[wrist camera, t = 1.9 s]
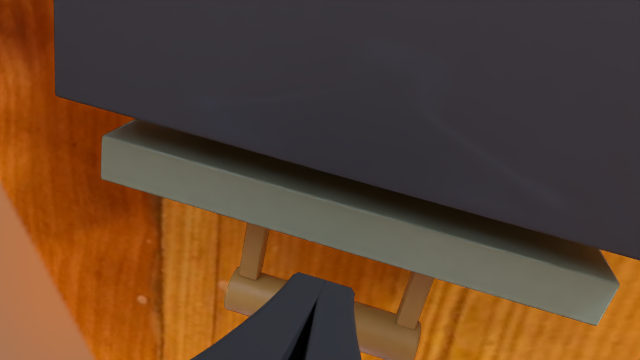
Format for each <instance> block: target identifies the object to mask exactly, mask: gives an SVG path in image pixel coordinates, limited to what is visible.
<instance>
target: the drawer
mask: <svg viewBox="0 0 640 360" xmlns="http://www.w3.org/2000/svg"><path fill="white" fill-rule="evenodd" d="M101 179H103V180H106V181H110V182H113V183H117V184H120V185H123V186H127V187H130V188H133V189H137V190H140V191H143V192H147V193H150V194H154V195H157V196H160V197H164V198H167V199H170V200H174V201H177V202H180V203H184V204H187V205H191V206H194V207H197V208H201V209H204V210H207V211H211V212H214V213H217V214H221V215H224V216H228V217H231V218H234V219H238V220H241V221H244V222H247V228H246V234H245V240H244V246H243V252H242V257H241V263H240V266H239V267H237V269H236V270H235V271H234V273H233V275H232V277H231V279H230V282H229V284H228V287H227V291H226V294H225V300H224V307H225V308H226V309H228V310H231V311H234V312H238V313H241V314H244V315H247V316H251V315H252V314H254V313H255V312H256V311H257V310H258V309H259V308H261V307H262V306H263V305H264V304H265V303H266V302H267V301H268V300H269V299H270V298H272V297H273V296H274V295H275V294H276V293H277V292H278V291H279V290H280V289H281V288H282V287H283V286H284V285H285V284H286V282H287V281H288V280H284V279H281V278H278V277H274V276H271V275H268V274H265V273H261V271H262V267H263V261H264V256H265V251H266V246H267V241H268V236H269V230H270V229H271V230H275V231H278V232H281V233H285V234H288V235H291V236H295V237H298V238H302V239H305V240H308V241H312V242H315V243H318V244H322V245H325V246H328V247H332V248H335V249H339V250H342V251H345V252H349V253H352V254H355V255H359V256H362V257H365V258H369V259H372V260H376V261H379V262H382V263H386V264H389V265H392V266H396V267H399V268H402V269H406V270H409V271H411V273H410V276H409V279H408V282H407V285H406V288H405V291H404V294H403V297H402V299H401V302H400V305H399V308H398V311H397V314H395V313H392V312H388V311H385V310H382V309H379V308H375V307H372V306H369V305H366V304H362V303H359V302H356V301H354V314H355V324H356V333H357V339H358V345H359V350H360V352H364V353H367V354H370V355H373V356H376V357H379V358H382V359H386V360H414V358H415V355H416V352H417V348H418V344H419V340H420V334H421V323H420V322H419V321H418V320H419V317H420V315H421V312H422V309H423V307H424V304H425V301H426V299H427V296H428V293H429V291H430V288H431V285H432V283H433V280H434V278H436V279H439V280H443V281H446V282H450V283H453V284H456V285H460V286H463V287H466V288H470V289H473V290H476V291H480V292H483V293H487V294H490V295H493V296H497V297H500V298H503V299H507V300H510V301H513V302H517V303H520V304H524V305H527V306H530V307H534V308H537V309H540V310H544V311H547V312H550V313H554V314H557V315H561V316H564V317H567V318H571V319H574V320H577V321H581V322H584V323H587V324H591V325H594V326H597V325H598V323H599V321H600V320H601V318H602V316H603V314H604V313H605V311H606V309H607V307H608V305H609V304H610V302H611V300H612V298H613V297H614V295H615V293H616V291H617V290H618V288H619V286H620V283H619V282H618V280H617V278H616V277H615V275H614V273H613V271H612V270H611V268H610V266H609V265H608V263H607V261H606V259H605V258H604V256H603V254H602V253H601V251H600V249H598V248H594V247H590V246H587V245H583V244H580V243H576V242H573V241H569V240H566V239H562V238H558V237H555V236H551V235H548V234H544V233H541V232H537V231H534V230H530V229H526V228H523V227H519V226H516V225H512V224H509V223H505V222H502V221H498V220H494V219H491V218H487V217H484V216H480V215H477V214H473V213H470V212H466V211H463V210H459V209H455V208H452V207H448V206H445V205H441V204H438V203H434V202H431V201H427V200H423V199H420V198H416V197H413V196H409V195H406V194H402V193H399V192H395V191H391V190H388V189H384V188H381V187H377V186H374V185H370V184H367V183H363V182H359V181H356V180H352V179H349V178H345V177H342V176H338V175H335V174H331V173H327V172H324V171H320V170H317V169H313V168H310V167H306V166H303V165H299V164H296V163H292V162H288V161H285V160H281V159H278V158H274V157H271V156H267V155H264V154H260V153H256V152H253V151H249V150H246V149H242V148H239V147H235V146H232V145H228V144H224V143H221V142H217V141H214V140H210V139H207V138H203V137H200V136H196V135H192V134H189V133H185V132H182V131H178V130H175V129H171V128H168V127H164V126H160V125H157V124H153V123H150V122H146V121H143V120H139V119H134V120H132V121H130V122H128V123H127V124H125V125H123V126H121V127H119V128H117V129H115V130H113V131H111V132H109V133H107V134H105V135H103V136H102V158H101Z"/></svg>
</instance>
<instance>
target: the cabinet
mask: <svg viewBox="0 0 640 360" xmlns="http://www.w3.org/2000/svg"><path fill="white" fill-rule="evenodd" d="M54 48H55V94H56V96H58V97H61V98H65V99H68V100H72V101H75V102H79V103H82V104H86V105H89V106H93V107H97V108H100V109H104V110H107V111H111V112H114V113H118V114H121V115H125V116H129V117H132V118H136V119H139V120H143V121H146V122H150V123H153V124H157V125H160V126H164V127H168V128H171V129H175V130H178V131H182V132H185V133H189V134H192V135H196V136H200V137H203V138H207V139H210V140H214V141H217V142H221V143H224V144H228V145H232V146H235V147H239V148H242V149H246V150H249V151H253V152H256V153H260V154H264V155H267V156H271V157H274V158H278V159H281V160H285V161H288V162H292V163H296V164H299V165H303V166H306V167H310V168H313V169H317V170H320V171H324V172H327V173H331V174H335V175H338V176H342V177H345V178H349V179H352V180H356V181H359V182H363V183H367V184H370V185H374V186H377V187H381V188H384V189H388V190H391V191H395V192H399V193H402V194H406V195H409V196H413V197H416V198H420V199H423V200H427V201H431V202H434V203H438V204H441V205H445V206H448V207H452V208H455V209H459V210H463V211H466V212H470V213H473V214H477V215H480V216H484V217H487V218H491V219H494V220H498V221H502V222H505V223H509V224H512V225H516V226H519V227H523V228H526V229H530V230H534V231H537V232H541V233H544V234H548V235H551V236H555V237H558V238H562V239H566V240H569V241H573V242H576V243H580V244H583V245H587V246H590V247H594V248H598V249H601V250H605V251H608V252H612V253H615V254H619V255H622V256H626V257H630V258H633V259H637V260H640V0H54Z"/></svg>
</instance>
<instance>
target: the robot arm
mask: <svg viewBox="0 0 640 360" xmlns="http://www.w3.org/2000/svg"><path fill="white" fill-rule="evenodd" d="M354 296H355V293H354V292H353V290H352V288H349V287H346V286H343V285H340V284H336V283H333V282H330V281H326V280H323V279H320V278H317V277H313V276H310V275H307V274H303V273H300V272H298V273H296V274H294V275H292V277H291V278H290V279H289V280H288V281H287V282H286V284H285V285H284V286H283V287H282V288H281V289H280V290H279V291H278V292H277V293H276V294H275V295H274V296H273V297H272V298H270V299H269V300H268V301H267V302H266V303H265V304H264V305H263V306H262V307H261V308H259V309H258V310H257V311H256V312H255V313H254V314H252V315H251V316H250V317H249V318H248V319H247V320H245V321H244V322H243V323H242V324H240V325H239V326H238V327H236V328H235V329H234V330H232V331H231V332H230V333H228V334H227V335H226V336H224V337H223V338H222V339H220V340H219V341H218V342H216V343H215V344H213V345H212V346H210V347H209V348H207V349H206V350H205V351H203V352H201V353H200V354H198V355H197V356H195V357H194V358H192V359H190V360H361V355H360V350H359V345H358V339H357V333H356V324H355V314H354Z"/></svg>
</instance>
